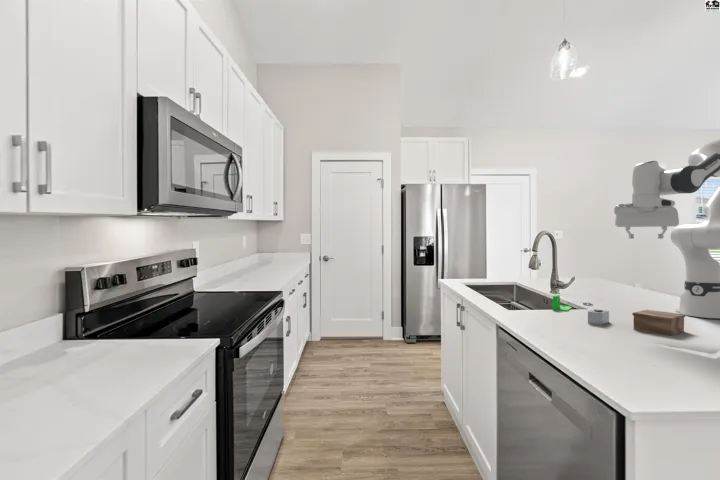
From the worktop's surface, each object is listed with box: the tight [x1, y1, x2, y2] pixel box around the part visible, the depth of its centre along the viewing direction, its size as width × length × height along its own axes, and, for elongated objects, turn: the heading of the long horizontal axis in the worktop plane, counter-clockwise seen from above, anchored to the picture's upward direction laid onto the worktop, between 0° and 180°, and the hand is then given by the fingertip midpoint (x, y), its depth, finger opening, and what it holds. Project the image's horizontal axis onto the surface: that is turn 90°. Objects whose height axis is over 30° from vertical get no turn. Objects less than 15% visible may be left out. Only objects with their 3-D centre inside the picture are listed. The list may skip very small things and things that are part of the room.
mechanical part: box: [552, 294, 572, 312], centre depth 183 cm, size 12×6×8 cm, turn 143°
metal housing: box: [587, 308, 610, 326], centre depth 157 cm, size 8×5×5 cm, turn 133°
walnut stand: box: [631, 309, 686, 337], centre depth 146 cm, size 12×12×6 cm
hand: (645, 238), depth 158 cm, fingers open, 8 cm apart
